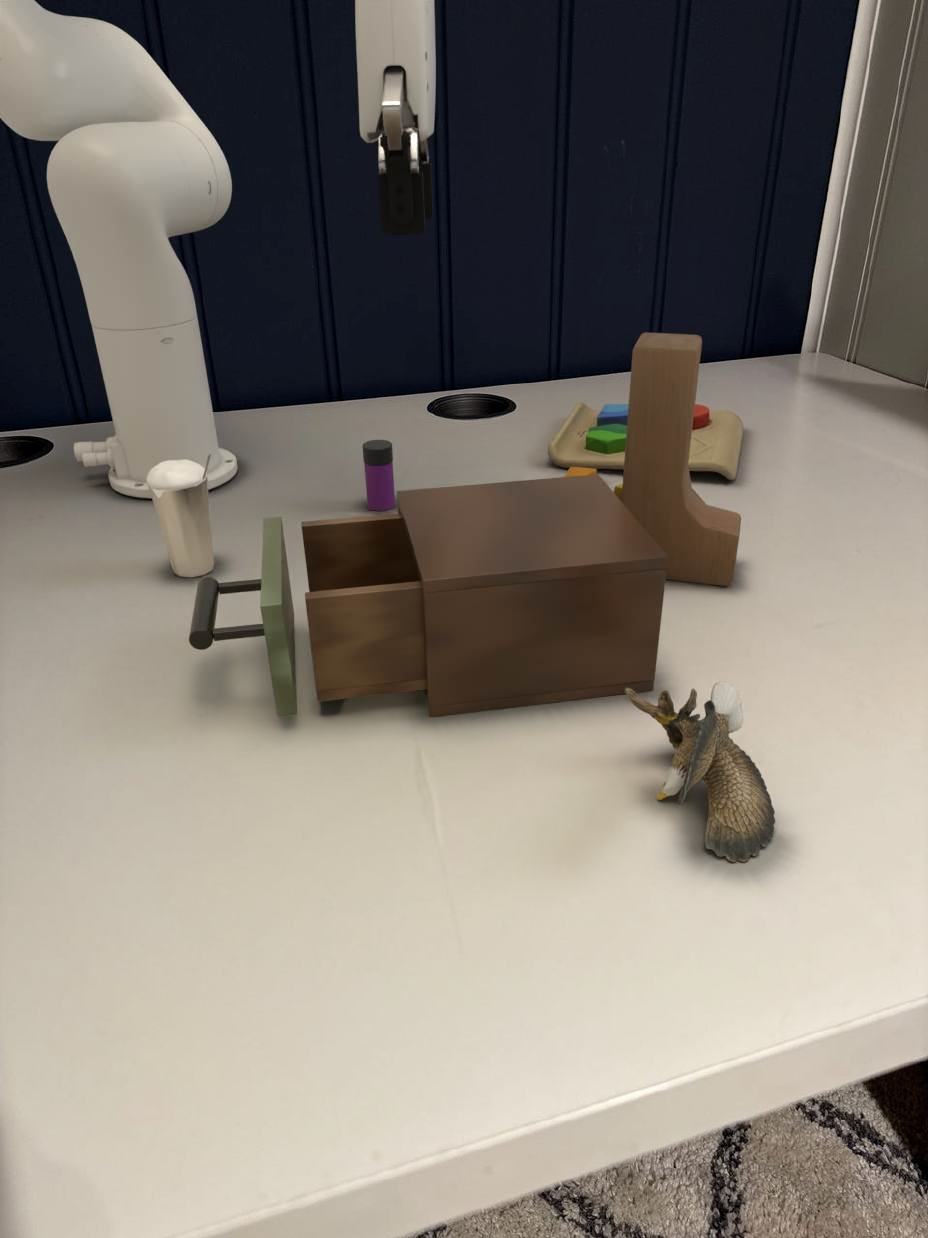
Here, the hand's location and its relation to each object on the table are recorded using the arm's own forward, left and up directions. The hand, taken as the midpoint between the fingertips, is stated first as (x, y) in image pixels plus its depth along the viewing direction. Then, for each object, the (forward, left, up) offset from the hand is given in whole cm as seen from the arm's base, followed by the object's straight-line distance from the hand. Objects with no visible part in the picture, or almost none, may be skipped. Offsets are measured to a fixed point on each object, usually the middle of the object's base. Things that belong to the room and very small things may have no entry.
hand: (408, 225), depth 70 cm
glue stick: (-3, +3, -25) cm, 25 cm away
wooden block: (+19, -15, -25) cm, 34 cm away
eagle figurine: (+10, -41, -25) cm, 49 cm away
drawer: (-9, -24, -24) cm, 35 cm away
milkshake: (-19, -7, -25) cm, 32 cm away
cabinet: (+4, -24, -25) cm, 34 cm away
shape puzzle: (+25, +9, -25) cm, 36 cm away
